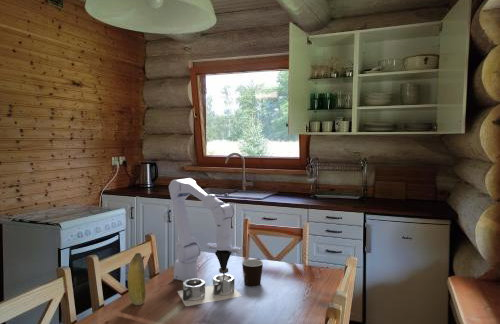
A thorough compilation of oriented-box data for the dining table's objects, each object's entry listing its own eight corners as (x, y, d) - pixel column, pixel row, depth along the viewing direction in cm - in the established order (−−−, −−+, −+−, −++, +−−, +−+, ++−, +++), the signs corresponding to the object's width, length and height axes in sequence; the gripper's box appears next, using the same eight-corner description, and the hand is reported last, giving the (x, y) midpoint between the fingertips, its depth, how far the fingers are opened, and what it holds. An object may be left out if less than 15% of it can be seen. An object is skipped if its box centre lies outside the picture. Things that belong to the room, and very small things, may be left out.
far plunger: (215, 281, 149) (215, 270, 149) (221, 276, 153) (221, 266, 153) (226, 283, 147) (226, 272, 147) (231, 279, 151) (231, 268, 151)
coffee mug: (260, 291, 153) (261, 267, 152) (240, 289, 155) (240, 265, 154) (265, 280, 164) (265, 257, 163) (246, 278, 166) (246, 256, 165)
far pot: (205, 295, 146) (205, 282, 146) (219, 285, 156) (219, 272, 156) (225, 299, 143) (225, 285, 142) (237, 289, 153) (237, 275, 152)
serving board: (185, 308, 137) (185, 306, 137) (177, 293, 150) (177, 291, 150) (241, 298, 146) (241, 296, 146) (229, 284, 159) (229, 282, 159)
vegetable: (134, 311, 135) (132, 256, 134) (124, 306, 140) (123, 252, 138) (148, 305, 140) (147, 252, 138) (138, 300, 144) (137, 249, 142)
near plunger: (185, 294, 144) (185, 283, 144) (192, 289, 149) (192, 278, 148) (196, 296, 142) (195, 285, 142) (202, 291, 147) (202, 280, 146)
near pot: (174, 301, 142) (174, 287, 141) (191, 290, 151) (190, 276, 151) (193, 305, 138) (193, 291, 138) (209, 294, 148) (209, 280, 147)
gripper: (202, 235, 148) (202, 269, 149) (235, 239, 142) (235, 275, 143) (211, 230, 154) (211, 263, 156) (243, 235, 148) (243, 268, 149)
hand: (223, 268), depth 150 cm, fingers closed
